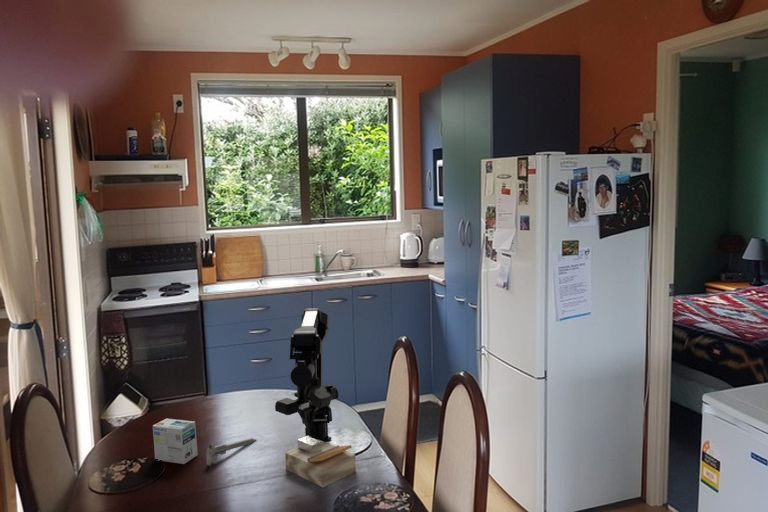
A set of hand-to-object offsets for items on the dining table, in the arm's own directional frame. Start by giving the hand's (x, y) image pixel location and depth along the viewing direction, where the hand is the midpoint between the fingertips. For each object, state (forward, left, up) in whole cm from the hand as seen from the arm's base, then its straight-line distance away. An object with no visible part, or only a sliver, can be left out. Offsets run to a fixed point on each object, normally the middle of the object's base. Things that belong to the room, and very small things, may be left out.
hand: (308, 428), depth 178 cm
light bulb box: (+23, -35, -11) cm, 43 cm away
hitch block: (0, +4, -11) cm, 12 cm away
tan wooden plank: (0, +9, -5) cm, 10 cm away
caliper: (+10, -25, -12) cm, 29 cm away
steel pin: (0, 0, -10) cm, 11 cm away
